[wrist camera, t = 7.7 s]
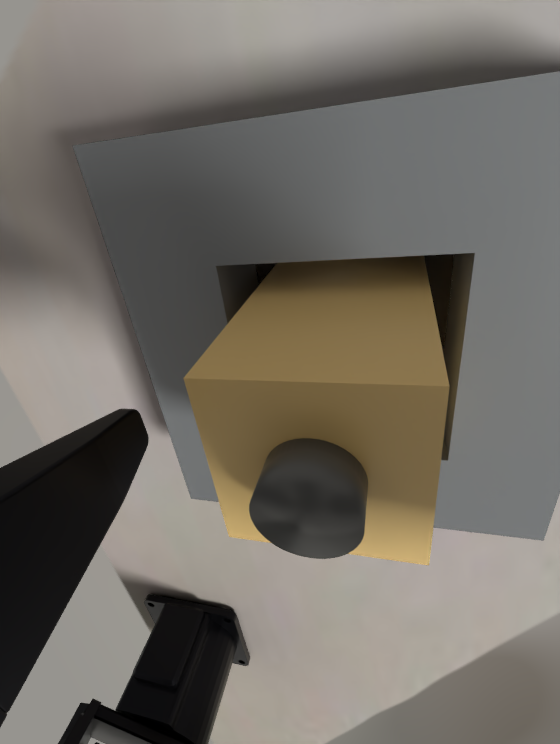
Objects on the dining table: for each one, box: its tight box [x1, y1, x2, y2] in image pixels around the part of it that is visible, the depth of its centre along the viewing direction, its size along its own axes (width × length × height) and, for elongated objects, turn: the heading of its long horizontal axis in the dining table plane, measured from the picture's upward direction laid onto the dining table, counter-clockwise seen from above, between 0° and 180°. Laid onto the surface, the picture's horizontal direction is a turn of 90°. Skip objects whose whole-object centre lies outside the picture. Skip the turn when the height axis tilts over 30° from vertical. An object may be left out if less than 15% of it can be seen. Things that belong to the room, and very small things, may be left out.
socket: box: [73, 71, 560, 541], centre depth 12 cm, size 12×12×3 cm
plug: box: [183, 255, 450, 565], centre depth 10 cm, size 4×4×8 cm
